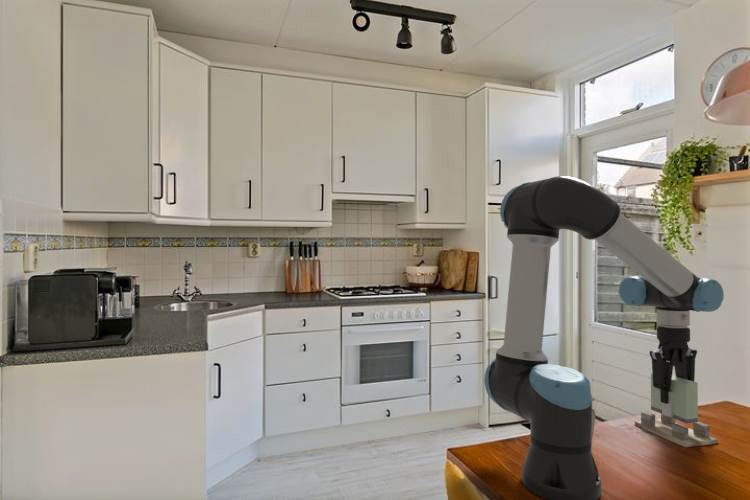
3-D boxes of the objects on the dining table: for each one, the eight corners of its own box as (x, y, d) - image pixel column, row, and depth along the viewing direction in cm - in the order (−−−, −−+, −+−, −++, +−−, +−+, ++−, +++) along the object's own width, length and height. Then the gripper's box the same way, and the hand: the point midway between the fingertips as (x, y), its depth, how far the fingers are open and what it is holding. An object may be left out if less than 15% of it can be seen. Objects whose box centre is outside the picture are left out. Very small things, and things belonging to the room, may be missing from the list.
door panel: (686, 423, 120) (686, 383, 120) (651, 409, 131) (650, 373, 131) (697, 422, 121) (697, 382, 121) (661, 408, 132) (661, 372, 132)
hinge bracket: (685, 447, 117) (685, 431, 117) (634, 424, 132) (634, 410, 132) (717, 443, 119) (717, 427, 119) (663, 421, 135) (663, 407, 135)
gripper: (659, 329, 120) (660, 422, 120) (711, 326, 125) (712, 416, 124) (635, 325, 128) (636, 412, 127) (685, 322, 132) (686, 407, 132)
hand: (674, 414), depth 126 cm, fingers closed on door panel, 4 cm apart
